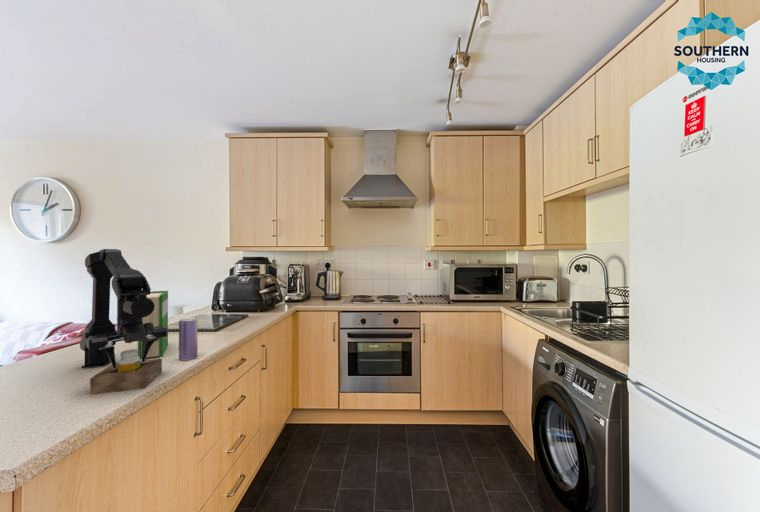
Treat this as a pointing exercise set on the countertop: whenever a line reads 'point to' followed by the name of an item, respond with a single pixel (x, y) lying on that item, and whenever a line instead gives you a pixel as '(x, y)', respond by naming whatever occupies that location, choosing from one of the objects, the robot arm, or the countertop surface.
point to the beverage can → (188, 338)
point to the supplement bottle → (129, 361)
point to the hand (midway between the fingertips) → (129, 364)
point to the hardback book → (157, 323)
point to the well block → (125, 377)
